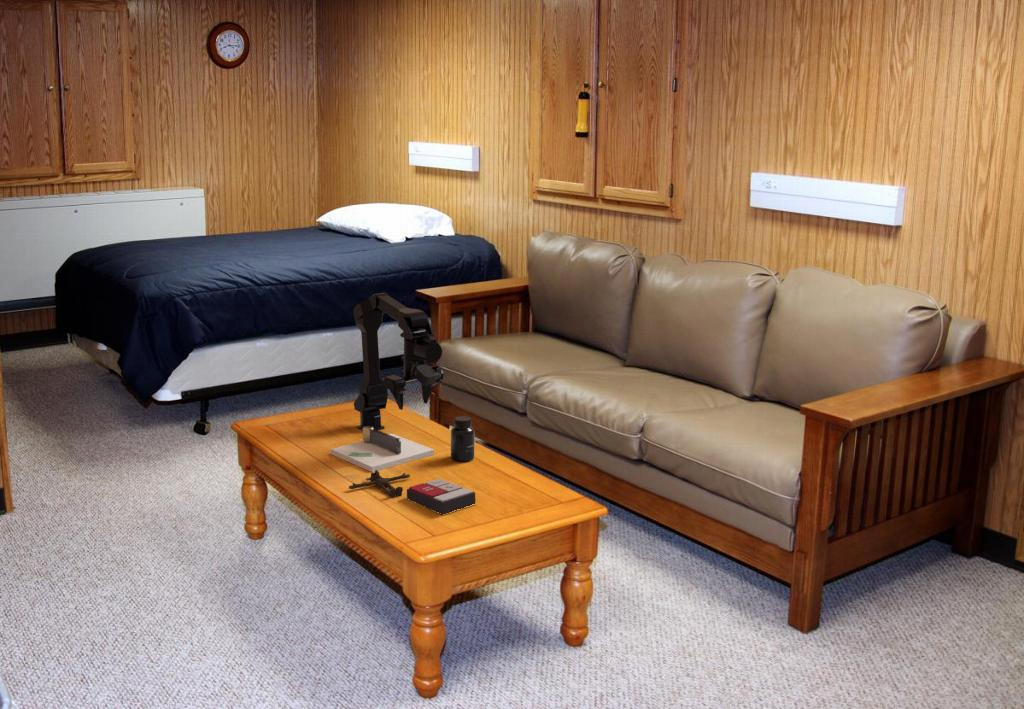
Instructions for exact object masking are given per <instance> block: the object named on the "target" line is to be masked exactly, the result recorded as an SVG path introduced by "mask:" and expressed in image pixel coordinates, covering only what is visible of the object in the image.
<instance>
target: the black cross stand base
mask: <svg viewBox="0 0 1024 709" xmlns="http://www.w3.org/2000/svg"><path fill="white" fill-rule="evenodd" d="M410 477H411V475H410V474H408V473H407V474H406V472H404V473H402V474H401V475H398V476H397V475H396V476H393V477H382V475H381V474H380V471H379V470H378V471H377V470H375V472H371V473H370V477H366V478H365V481H368V482H364V483H362V482H361V483H353V482H352V483H351V485H349V486H348V489H349V490H355V489H358V488H363V487H369V486H370V487H371V486H374V485H375V486H376V487H378V489H380V490H382V491H383V492H384V493H385V494H386V495H387V496H388V497H390V498H391V499H393V497H394V498H396V497H402V495H403V491H404V488H403V487H402V486H397V487H396V488H395V487H394V486H393V485H392V484H390V483H391V482H394V481H398V480H404V479H409V478H410Z"/></svg>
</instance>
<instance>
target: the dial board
mask: <svg viewBox="0 0 1024 709" xmlns="http://www.w3.org/2000/svg"><path fill="white" fill-rule="evenodd" d="M387 434H388V435H391V436H394V437H396V438H400V439H401V453H399V454H397V453H395V452H393V451H390V450H388V449H385V448H383V447H380V446H378V445H375V444H373V443H370V442H369V443H368V442H363V440H362V441H357V442H352V443H349V444H345V445H342V446H338V447H334V448H330V455H332V456H334V457H336V456H337V457H336V458H339V459H341V460H343V461H347V462H348V463H351V464H353V465H355V466H357V467H360V468H362V469H365V470H367V471H370V472H371V473H375V470H377V471H378V472H379V471H382V470H385V469H389V468H391V467H395V465H396V466H399V465H402V464H406V463H409V461H410V462H412V460H413V461H416V460H420V459H424V458H426V457H430V456H434V454H435V449H433V448H430V447H428V446H426V445H423V444H421V443H417V442H416V441H413V440H410V439H407V438H404V437H402V436H400V435H397V434H394V433H387Z"/></svg>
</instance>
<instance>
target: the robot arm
mask: <svg viewBox="0 0 1024 709" xmlns="http://www.w3.org/2000/svg"><path fill="white" fill-rule="evenodd" d="M352 311H353V313H352V315H353V317H354V323H355V325H356V326H357V327H358V330H360V333H361V334H360V335H361V346H362V347H361V348H362V349H361V352H362V365H363V366H362V367H363V379H362V381H361V383H360V386H359V388H358V389H359V393H358V396H357V398H356V399H355V401H354V402H353V408H354V410H355V411H357V412H359V413H360V414H359V415H360V416H359V418H360V419H359V420H360V423H359V424H360V425H356V427H355V428H357V429H359V430H361V431H363V427H365V426H372V427H374V429H376V430H378V431H381V430H383V429H385V426H384V425H382V416H381V410H383V409H384V410H385V409H386V408H387V403H388V400H389V393H388V390H389V391H390V394H391V395H392V397H393V398H394V400H395V403H396V405H397V408H398V409H399V410H401V411H402V410H403V409H404V394H405V392H406V391H407V388H405V387H406V384H408V383H413V382H416V381H418V382H419V383H420V384H421V395H422V401H423V403H424V404H428V403H429V399H430V397H431V394H432V391H433V389H434V387H435V386H436V385H437V384H439V383H441V380H444V378H445V377H444V371H443V368H442V366H440V365H439V364H437V365H434V366H432V365H430V366H429V365H428V362H429V363H431V364H434V363H436V362H438V361H439V360H440V359H441V358H442V355H443V348H442V346H441V344H439V343H438V342H437V338H435V333H434V329H433V327H432V325H431V322H430V320H429V317H428V315H427V313H426V312H425V311H423V310H421V309H418V308H410V307H407V306H406V305H404V304H402V303H401V302H399V301H397V300H396V299H395V298H393V297H391V296H390V294H389V293H386V292H381V293H379V292H378V293H374V294H372V295H370V296H369V297H368V298H367V299H365V300H362V301H361V302H359V303H357V304H356V305H355V307H354V308H353V310H352ZM384 314H386V315H387V316H389V317H390V318H392V319H394V320H395V321H396V322H397V326H398V328H399V329H400V330H402V332H401V333H400V334H399V337H400V338H403V356H401V357H400V361H401V362H403V370H401V371H400V375H401V376H402V377H401V376H398V375H396V374H391V375H386V376H384V377H383V378H381V369H380V368H381V367H380V365H381V364H380V352H379V351H380V348H379V334H378V332H379V329H380V327H381V326H382V324H383V315H384Z"/></svg>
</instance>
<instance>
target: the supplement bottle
mask: <svg viewBox="0 0 1024 709" xmlns="http://www.w3.org/2000/svg"><path fill="white" fill-rule="evenodd" d="M453 424H454V426H453V427H452V428H451V430H450V458H451V460H452V461H454V462H458V463H467V462H471V461H473V460H474V458H475V446H476V445H475V443H476V442H475V441H476V440H475V439H476V437H475V435H476V432H475V429H474V427H472V418H471V417H469V416H456V417H454V423H453Z"/></svg>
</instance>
